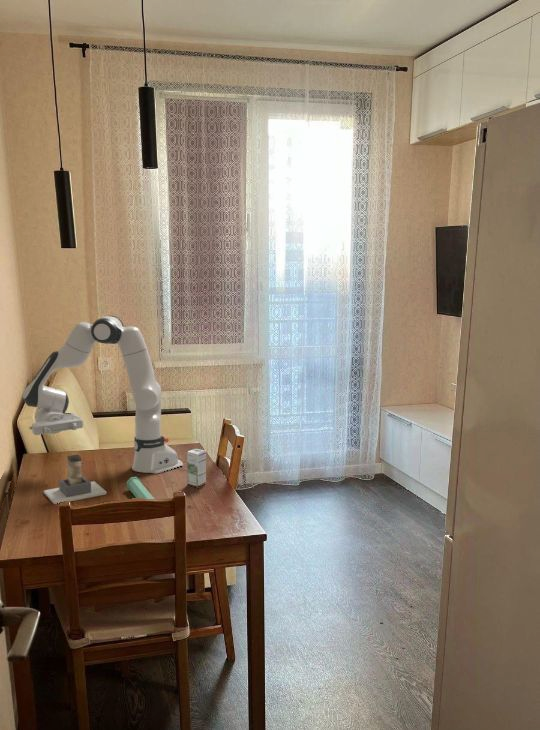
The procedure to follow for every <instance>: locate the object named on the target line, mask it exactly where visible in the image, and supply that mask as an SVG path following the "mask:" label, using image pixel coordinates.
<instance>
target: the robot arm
mask: <svg viewBox="0 0 540 730" xmlns="http://www.w3.org/2000/svg"><path fill="white" fill-rule="evenodd" d="M122 321H123V320H121V319H120V318H119V317H117V316H115V315H107V316H106V315H105V316H102V317H100V318H98V319H96V320H95V321H94V322H93V323H92V324H91V323H90V322H85V321H80V322H78V323H76V324H75V326H74V327H73V328H72V329H71V332H70V333H69V335H68V337H67V339H66V341H65V343H63V346H62V347H61V348H60V349H57V350H56V351H53V352H51V354H50V355H49V356H48V358H46V360H45V361H44V363H43V364H42V366H40V368H39V370H38V372H37V373H36V375H35V376H34V377H33V378H32V380H31V381H30V383H29V384H28V385H27V386H26V388H24V391H23V394H22V400H23V402H24V403H25V405H26V406H27V407H32V408H38V409H37V410H36V411H35V414H34V420H35V422H33V423H32V424H31V425H29V426H28V429H29V430H32V434H33V435H34V436H39V435H46V434H49V435H51V434H52V435H55V434H58V433H60V432H63V431H65V432H66V431H71V430H72V431H76V430H77V429H82V428H84V420H83V418H81V416H79V415H75V414H74V412H67V410H68V407H69V404H70V403H69V402H70V401H69V396H68V393H67V392H66V391H65V390H61V389H59V388H58V389H57V388H53V387H50V386H47V385H45V383H47V381H48V379H49V378H50V376H51V374H52V373H53V372H55V371H56V370H58V369H63V368H74V367H75V368H76V367H79V366H82V365H83V364H85V363H86V361H87V360H88V358H89V357H90V354H91V353H92V349H93V348H94V345H95V344H96V343H100V344H104V345H105V344H109V345H118V347H119V349H120V352H121V355H122V356H121V357H122V358H123V359H122V360H123V363H124V366H125V369H126V372H127V377H128V382H129V386H130V390H131V394H132V398H133V401H134V402H133V403H134V404H135V416H134V417H135V419H134V421H135V422H134V426H135V427H134V428H135V429H134V431H135V432H134V434H135V436H134V440H133V441H134V444H133V446H134V447H133V448H134V456H133V462H132V467H131V469H132V471H134V472H139V473H144V474H145V473H147V474H149V473H150V474H160V473H161V474H162V473H165V472H168V471H171V469H172V470H175V469H174V468H176V469H178V468H177V467H179V468H181V467H180V466H182V467H184V463H183V461H181V460H180V459H178V453H177V451H176V450H174V449H173V448H172V447H170V446H169V445H167V444H166V443H168V442H170V441H169V440H170V439H169V438H168V437H167V436H165V437H164V436H163V435H161V434H162V431H161V429H162V427H161V426H162V425H161V424H162V423H161V422H162V421H161V420H162V419H161V418H162V387H161V385H160V384H159V382H158V381H157V380H156V376H155V371H154V367H153V363H152V359H151V356H150V352H149V350H148V346H147V343H146V341H145V338H144V336H143V334H142V332H141V330H140V328H139V327H137V326H130V325H129V326H124V324H123V322H122ZM167 470H168V471H167ZM164 471H165V472H164Z"/></svg>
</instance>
